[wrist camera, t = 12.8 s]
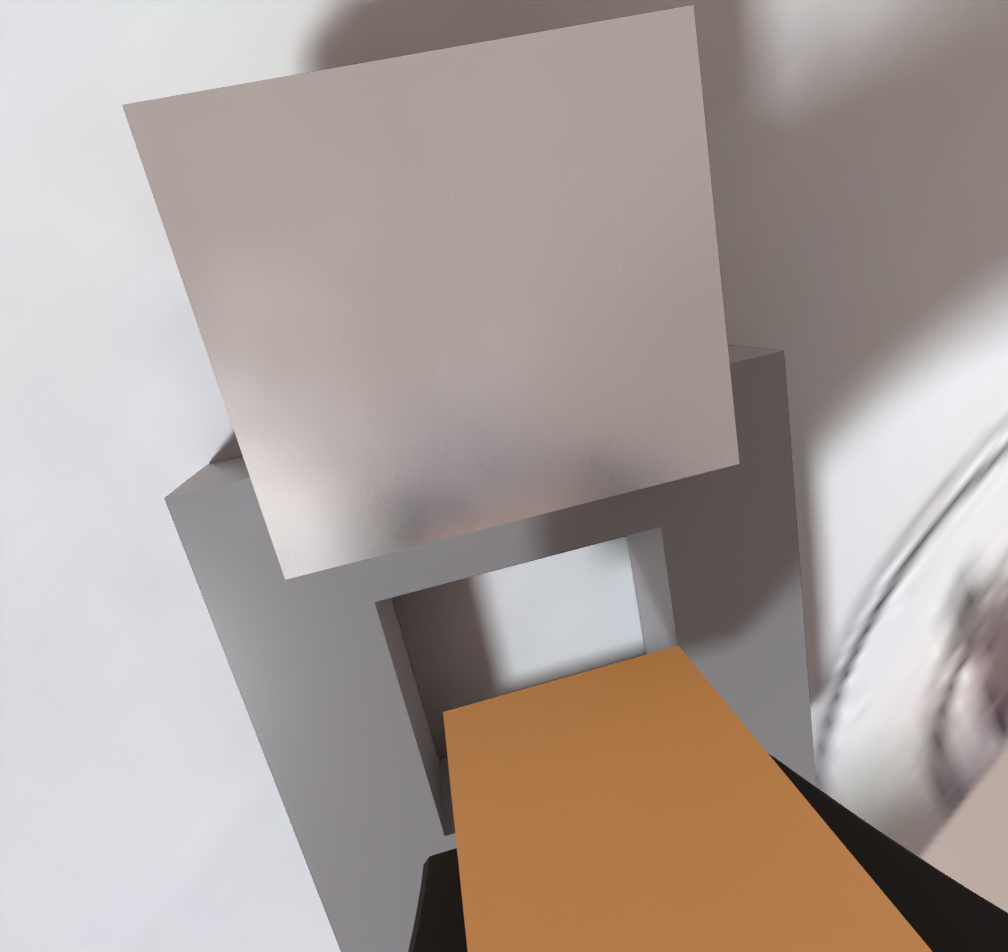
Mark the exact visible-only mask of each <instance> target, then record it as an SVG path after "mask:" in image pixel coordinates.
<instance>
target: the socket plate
mask: <svg viewBox="0 0 1008 952" xmlns="http://www.w3.org/2000/svg"><path fill="white" fill-rule="evenodd" d="M728 354H729V364H730V374H731V384H732V394H733V404H734V414H735V424H736V434H737V444H738V454H739V464H737V465H733V466H729V467H725V468H721V469H717V470H713V471H709V472H705V473H702V474H698V475H694V476H690V477H686V478H682V479H678V480H674V481H670V482H666V483H662V484H658V485H655V486H651V487H647V488H643V489H639V490H635V491H631V492H627V493H623V494H619V495H615V496H611V497H608V498H604V499H600V500H596V501H592V502H588V503H584V504H580V505H576V506H572V507H568V508H565V509H561V510H557V511H553V512H549V513H545V514H541V515H537V516H533V517H529V518H525V519H521V520H518V521H514V522H510V523H506V524H502V525H498V526H494V527H490V528H486V529H482V530H478V531H474V532H471V533H467V534H463V535H459V536H455V537H451V538H447V539H443V540H439V541H435V542H431V543H427V544H424V545H420V546H416V547H412V548H408V549H404V550H400V551H396V552H392V553H388V554H384V555H380V556H377V557H373V558H369V559H365V560H361V561H357V562H353V563H349V564H345V565H341V566H337V567H334V568H330V569H326V570H322V571H318V572H314V573H310V574H306V575H302V576H298V577H294V578H290V579H287V580H285V578H284V575H283V572H282V569H281V566H280V563H279V560H278V557H277V555H276V552H275V549H274V546H273V543H272V540H271V537H270V534H269V531H268V528H267V525H266V522H265V520H264V517H263V514H262V511H261V508H260V505H259V502H258V499H257V496H256V493H255V490H254V487H253V485H252V482H251V479H250V476H249V473H248V470H247V467H246V464H245V461H244V458H243V457H239V458H234V459H230V460H226V461H222V462H217V463H213V464H209V465H206V466H205V467H204V468H202V469H201V470H200V471H199V472H197V473H196V474H195V475H193V476H192V477H191V478H190V479H188V480H187V481H186V482H184V483H183V484H182V485H181V486H179V487H178V488H177V489H175V490H174V491H173V492H172V493H170V494H169V495H168V496H166V497H165V501H166V504H167V506H168V509H169V511H170V514H171V516H172V519H173V522H174V524H175V527H176V529H177V532H178V534H179V537H180V540H181V542H182V545H183V547H184V550H185V552H186V555H187V557H188V560H189V563H190V565H191V568H192V570H193V573H194V575H195V578H196V581H197V583H198V586H199V588H200V591H201V593H202V596H203V599H204V601H205V604H206V606H207V609H208V611H209V614H210V617H211V619H212V622H213V624H214V627H215V629H216V632H217V635H218V637H219V640H220V642H221V645H222V647H223V650H224V652H225V655H226V658H227V660H228V663H229V665H230V668H231V670H232V673H233V676H234V678H235V681H236V683H237V686H238V688H239V691H240V694H241V696H242V699H243V701H244V704H245V706H246V709H247V712H248V714H249V717H250V719H251V722H252V724H253V727H254V730H255V732H256V735H257V737H258V740H259V742H260V745H261V747H262V750H263V753H264V755H265V758H266V760H267V763H268V765H269V768H270V771H271V773H272V776H273V778H274V781H275V783H276V786H277V789H278V791H279V794H280V796H281V799H282V801H283V804H284V807H285V809H286V812H287V814H288V817H289V819H290V822H291V825H292V827H293V830H294V832H295V835H296V837H297V840H298V842H299V845H300V848H301V850H302V853H303V855H304V858H305V860H306V863H307V866H308V868H309V871H310V873H311V876H312V878H313V881H314V884H315V886H316V889H317V891H318V894H319V896H320V899H321V902H322V904H323V907H324V909H325V912H326V914H327V917H328V919H329V922H330V925H331V927H332V930H333V932H334V935H335V937H336V940H337V943H338V945H339V948H340V950H341V952H408V950H409V945H410V941H411V936H412V932H413V927H414V922H415V916H416V911H417V906H418V900H419V894H420V888H421V881H422V873H423V865H424V863H425V862H426V860H427V859H428V858H429V856H432V855H435V854H439V853H442V852H445V851H448V850H452V849H455V848H457V844H456V834H455V824H454V815H453V805H452V795H451V786H450V776H449V766H448V756H447V757H444V758H441V759H438V756H437V752H436V749H435V745H434V742H433V739H432V735H431V732H430V728H429V725H428V721H427V718H426V714H425V711H424V708H423V704H422V701H421V697H420V694H419V690H418V687H417V683H416V680H415V677H414V673H413V670H412V666H411V663H410V659H409V656H408V652H407V649H406V646H405V642H404V639H403V635H402V632H401V628H400V625H399V621H398V618H397V615H396V611H395V608H394V604H393V601H392V597H396V596H400V595H404V594H407V593H411V592H415V591H419V590H423V589H427V588H430V587H434V586H438V585H442V584H446V583H449V582H453V581H457V580H461V579H465V578H468V577H472V576H476V575H480V574H484V573H487V572H491V571H495V570H499V569H503V568H506V567H510V566H514V565H518V564H522V563H526V562H529V561H533V560H537V559H541V558H545V557H548V556H552V555H556V554H560V553H564V552H567V551H571V550H575V549H579V548H583V547H586V546H590V545H594V544H598V543H602V542H605V541H609V540H613V539H617V538H621V537H624V536H627V541H628V547H629V553H630V560H631V566H632V572H633V578H634V584H635V591H636V597H637V603H638V609H639V615H640V622H641V628H642V634H643V640H644V646H645V653H646V654H649V653H653V652H656V651H660V650H663V649H667V648H670V647H674V646H677V645H678V646H679V647H680V648H681V649H682V650H683V652H684V653H685V654H686V655H687V656H688V658H689V659H690V660H691V661H692V663H693V664H694V665H695V666H696V667H697V669H698V670H699V671H700V672H701V673H702V675H703V676H704V677H705V678H706V679H707V681H708V682H709V683H710V684H711V685H712V687H713V688H714V689H715V690H716V691H717V693H718V694H719V695H720V696H721V697H722V699H723V700H724V701H725V702H726V703H727V705H728V706H729V707H730V708H731V710H732V711H733V712H734V713H735V714H736V716H737V717H738V718H739V719H740V720H741V722H742V723H743V724H744V725H745V726H746V728H747V729H748V730H749V731H750V732H751V734H752V735H753V736H754V737H755V738H756V740H757V741H758V742H759V743H760V744H761V746H762V747H763V748H764V749H765V750H766V752H767V753H768V754H770V755H772V756H773V757H775V758H776V759H778V760H779V761H781V762H782V763H783V764H785V765H786V766H788V767H789V768H790V769H792V770H793V771H794V772H796V773H797V774H799V775H800V776H801V777H803V778H804V779H806V780H807V781H808V782H810V783H811V784H813V785H814V786H815V787H816V778H815V764H814V751H813V737H812V724H811V710H810V697H809V683H808V670H807V656H806V643H805V629H804V616H803V602H802V589H801V575H800V562H799V548H798V535H797V521H796V508H795V494H794V481H793V467H792V454H791V440H790V426H789V413H788V399H787V386H786V372H785V359H784V351H782V350H772V349H761V348H751V347H741V346H731V345H728Z"/></svg>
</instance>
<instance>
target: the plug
mask: <svg viewBox="0 0 1008 952" xmlns="http://www.w3.org/2000/svg"><path fill="white" fill-rule="evenodd" d="M443 718H444V727H445V737H446V747H447V756H448V766H449V776H450V786H451V795H452V805H453V815H454V824H455V834H456V844H457V854H458V863H459V873H460V883H461V892H462V902H463V912H464V922H465V931H466V941H467V951H468V952H932V950H931V949H930V948H929V947H928V946H927V944H926V943H925V942H924V941H923V940H922V938H921V937H920V936H919V935H918V934H917V932H916V931H915V930H914V929H913V928H912V926H911V925H910V924H909V923H908V922H907V920H906V919H905V918H904V917H903V916H902V914H901V913H900V912H899V911H898V909H897V908H896V907H895V906H894V905H893V903H892V902H891V901H890V900H889V899H888V897H887V896H886V895H885V894H884V893H883V891H882V890H881V889H880V888H879V887H878V885H877V884H876V883H875V882H874V881H873V879H872V878H871V877H870V876H869V875H868V873H867V872H866V871H865V870H864V869H863V867H862V866H861V865H860V864H859V863H858V861H857V860H856V859H855V858H854V856H853V855H852V854H851V853H850V852H849V850H848V849H847V848H846V847H845V846H844V844H843V843H842V842H841V841H840V840H839V838H838V837H837V836H836V835H835V834H834V832H833V831H832V830H831V829H830V828H829V826H828V825H827V824H826V823H825V822H824V820H823V819H822V818H821V817H820V816H819V814H818V813H817V812H816V811H815V810H814V808H813V807H812V806H811V805H810V803H809V802H808V801H807V800H806V799H805V797H804V796H803V795H802V794H801V793H800V791H799V790H798V789H797V788H796V787H795V785H794V784H793V783H792V782H791V781H790V779H789V778H788V777H787V776H786V775H785V773H784V772H783V771H782V770H781V769H780V767H779V766H778V765H777V764H776V763H775V761H774V760H773V759H772V758H771V756H770V755H769V754H768V753H767V752H766V750H765V749H764V748H763V747H762V746H761V744H760V743H759V742H758V741H757V740H756V738H755V737H754V736H753V735H752V734H751V732H750V731H749V730H748V729H747V728H746V726H745V725H744V724H743V723H742V722H741V720H740V719H739V718H738V717H737V716H736V714H735V713H734V712H733V711H732V710H731V708H730V707H729V706H728V705H727V703H726V702H725V701H724V700H723V699H722V697H721V696H720V695H719V694H718V693H717V691H716V690H715V689H714V688H713V687H712V685H711V684H710V683H709V682H708V681H707V679H706V678H705V677H704V676H703V675H702V673H701V672H700V671H699V670H698V669H697V667H696V666H695V665H694V664H693V663H692V661H691V660H690V659H689V658H688V656H687V655H686V654H685V653H684V652H683V650H682V649H681V648H680V647H679V646H678V645H677V646H674V647H670V648H667V649H663V650H660V651H656V652H653V653H649V654H646V655H642V656H639V657H635V658H632V659H628V660H624V661H621V662H617V663H614V664H610V665H607V666H603V667H600V668H596V669H593V670H589V671H586V672H582V673H579V674H575V675H572V676H568V677H565V678H561V679H557V680H554V681H550V682H547V683H543V684H540V685H536V686H533V687H529V688H526V689H522V690H519V691H515V692H512V693H508V694H505V695H501V696H498V697H494V698H491V699H487V700H483V701H480V702H476V703H473V704H469V705H466V706H462V707H459V708H455V709H452V710H448V711H445V712H443Z"/></svg>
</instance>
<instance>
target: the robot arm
mask: <svg viewBox="0 0 1008 952" xmlns="http://www.w3.org/2000/svg"><path fill="white" fill-rule="evenodd" d="M769 755H770V754H769ZM770 756H771V758H772V759H773V760H774V761H775V763H776V764H777V765H778V766H779V767H780V769H781V770H782V771H783V772H784V773H785V775H786V776H787V777H788V778H789V779H790V781H791V782H792V783H793V784H794V785H795V787H796V788H797V789H798V790H799V791H800V793H801V794H802V795H803V796H804V797H805V799H806V800H807V801H808V802H809V803H810V805H811V806H812V807H813V808H814V810H815V811H816V812H817V813H818V814H819V816H820V817H821V818H822V819H823V820H824V822H825V823H826V824H827V825H828V826H829V828H830V829H831V830H832V831H833V832H834V834H835V835H836V836H837V837H838V838H839V840H840V841H841V842H842V843H843V844H844V846H845V847H846V848H847V849H848V850H849V852H850V853H851V854H852V855H853V856H854V858H855V859H856V860H857V861H858V863H859V864H860V865H861V866H862V867H863V869H864V870H865V871H866V872H867V873H868V875H869V876H870V877H871V878H872V879H873V881H874V882H875V883H876V884H877V885H878V887H879V888H880V889H881V890H882V891H883V893H884V894H885V895H886V896H887V897H888V899H889V900H890V901H891V902H892V903H893V905H894V906H895V907H896V908H897V909H898V911H899V912H900V913H901V914H902V916H903V917H904V918H905V919H906V920H907V922H908V923H909V924H910V925H911V926H912V928H913V929H914V930H915V931H916V932H917V934H918V935H919V936H920V937H921V938H922V940H923V941H924V942H925V943H926V944H927V946H928V947H929V948H930V949H931V950H932V952H1008V913H1007V912H1005V911H1003V910H1002V909H1000V908H998V907H997V906H995V905H993V904H992V903H990V902H989V901H987V900H985V899H984V898H982V897H980V896H979V895H977V894H976V893H973V892H972V891H971V890H969V889H967V888H966V887H964V886H963V885H961V884H959V883H958V882H956V881H955V880H953V879H951V878H950V877H948V876H947V875H945V874H944V873H942V872H940V871H939V870H937V869H936V868H934V867H933V866H931V865H930V864H928V863H927V862H925V861H924V860H922V859H921V858H919V857H918V856H916V855H915V854H913V853H912V852H910V851H909V850H907V849H905V848H904V847H902V846H901V845H899V844H898V843H896V842H895V841H893V840H892V839H890V838H889V837H887V836H886V835H884V834H883V833H881V832H880V831H878V830H877V829H875V828H874V827H873V826H871V825H870V824H868V823H867V822H865V821H864V820H862V819H861V818H859V817H858V816H857V815H855V814H854V813H852V812H851V811H849V810H848V809H847V808H845V807H844V806H842V805H841V804H839V803H838V802H837V801H835V800H834V799H832V798H831V797H829V796H828V795H827V794H825V793H824V792H822V791H821V790H820V789H818V788H817V787H815V786H814V785H813V784H811V783H810V782H808V781H807V780H806V779H804V778H803V777H801V776H800V775H799V774H797V773H796V772H794V771H793V770H792V769H790V768H789V767H788V766H786V765H785V764H783V763H782V762H781V761H779V760H778V759H776V758H775V757H773V756H772V755H770ZM408 952H468V951H467V941H466V931H465V922H464V912H463V902H462V892H461V883H460V873H459V863H458V854H457V848H455V849H452V850H448V851H445V852H442V853H439V854H435V855H432V856H429V858H428V859H427V860H426V862H425V863H424V865H423V873H422V881H421V888H420V894H419V900H418V906H417V911H416V916H415V922H414V927H413V932H412V936H411V941H410V945H409V950H408Z"/></svg>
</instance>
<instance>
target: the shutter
mask: <svg viewBox="0 0 1008 952" xmlns="http://www.w3.org/2000/svg"><path fill="white" fill-rule="evenodd" d="M122 106H123V109H124V111H125V114H126V117H127V120H128V123H129V126H130V129H131V132H132V135H133V138H134V141H135V143H136V146H137V149H138V152H139V155H140V158H141V161H142V164H143V167H144V170H145V173H146V176H147V178H148V181H149V184H150V187H151V190H152V193H153V196H154V199H155V202H156V205H157V208H158V211H159V213H160V216H161V219H162V222H163V225H164V228H165V231H166V234H167V237H168V240H169V243H170V246H171V248H172V251H173V254H174V257H175V260H176V263H177V266H178V269H179V272H180V275H181V278H182V280H183V283H184V286H185V289H186V292H187V295H188V298H189V301H190V304H191V307H192V310H193V313H194V315H195V318H196V321H197V324H198V327H199V330H200V333H201V336H202V339H203V342H204V345H205V348H206V350H207V353H208V356H209V359H210V362H211V365H212V368H213V371H214V374H215V377H216V380H217V383H218V385H219V388H220V391H221V394H222V397H223V400H224V403H225V406H226V409H227V412H228V415H229V417H230V420H231V423H232V426H233V429H234V432H235V435H236V438H237V441H238V444H239V447H240V450H241V452H242V455H243V458H244V461H245V464H246V467H247V470H248V473H249V476H250V479H251V482H252V485H253V487H254V490H255V493H256V496H257V499H258V502H259V505H260V508H261V511H262V514H263V517H264V520H265V522H266V525H267V528H268V531H269V534H270V537H271V540H272V543H273V546H274V549H275V552H276V555H277V557H278V560H279V563H280V566H281V569H282V572H283V575H284V578H285V580H287V579H290V578H294V577H298V576H302V575H306V574H310V573H314V572H318V571H322V570H326V569H330V568H334V567H337V566H341V565H345V564H349V563H353V562H357V561H361V560H365V559H369V558H373V557H377V556H380V555H384V554H388V553H392V552H396V551H400V550H404V549H408V548H412V547H416V546H420V545H424V544H427V543H431V542H435V541H439V540H443V539H447V538H451V537H455V536H459V535H463V534H467V533H471V532H474V531H478V530H482V529H486V528H490V527H494V526H498V525H502V524H506V523H510V522H514V521H518V520H521V519H525V518H529V517H533V516H537V515H541V514H545V513H549V512H553V511H557V510H561V509H565V508H568V507H572V506H576V505H580V504H584V503H588V502H592V501H596V500H600V499H604V498H608V497H611V496H615V495H619V494H623V493H627V492H631V491H635V490H639V489H643V488H647V487H651V486H655V485H658V484H662V483H666V482H670V481H674V480H678V479H682V478H686V477H690V476H694V475H698V474H702V473H705V472H709V471H713V470H717V469H721V468H725V467H729V466H733V465H737V464H739V454H738V444H737V434H736V424H735V414H734V404H733V394H732V384H731V374H730V364H729V354H728V344H727V334H726V324H725V314H724V304H723V294H722V284H721V274H720V264H719V254H718V244H717V234H716V224H715V214H714V204H713V194H712V184H711V174H710V163H709V153H708V143H707V133H706V123H705V113H704V103H703V93H702V83H701V73H700V63H699V53H698V43H697V33H696V23H695V13H694V5H690V6H684V7H678V8H672V9H667V10H661V11H655V12H650V13H644V14H638V15H633V16H627V17H621V18H615V19H610V20H604V21H598V22H593V23H587V24H581V25H576V26H570V27H564V28H558V29H553V30H547V31H541V32H536V33H530V34H524V35H519V36H513V37H507V38H502V39H496V40H490V41H484V42H479V43H473V44H467V45H462V46H456V47H450V48H445V49H439V50H433V51H427V52H422V53H416V54H410V55H405V56H399V57H393V58H388V59H382V60H376V61H370V62H365V63H359V64H353V65H348V66H342V67H336V68H331V69H325V70H319V71H314V72H308V73H302V74H296V75H291V76H285V77H279V78H274V79H268V80H262V81H257V82H251V83H245V84H239V85H234V86H228V87H222V88H217V89H211V90H205V91H200V92H194V93H188V94H182V95H177V96H171V97H165V98H160V99H154V100H148V101H143V102H137V103H131V104H125V105H122Z"/></svg>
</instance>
